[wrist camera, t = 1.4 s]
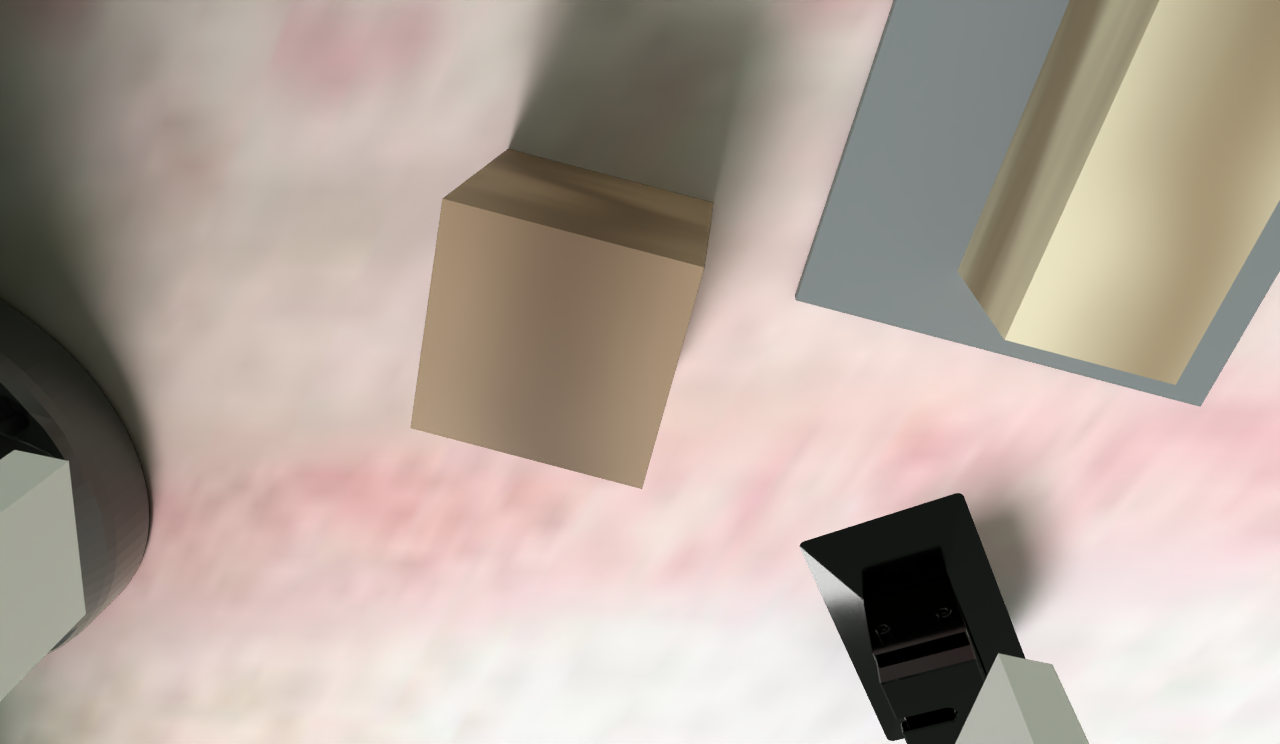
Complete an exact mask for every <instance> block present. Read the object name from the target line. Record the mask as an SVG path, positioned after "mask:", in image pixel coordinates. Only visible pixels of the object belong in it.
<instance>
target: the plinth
mask: <svg viewBox="0 0 1280 744" xmlns="http://www.w3.org/2000/svg"><path fill="white" fill-rule="evenodd" d="M1279 201H1280V0H1070V1H1069V3H1068V6H1067V8H1066V11H1065V13H1064V15H1063V18H1062V20H1061V23H1060V25H1059V27H1058V30H1057V32H1056V35H1055V37H1054V39H1053V42H1052V44H1051V47H1050V49H1049V52H1048V54H1047V56H1046V59H1045V61H1044V64H1043V66H1042V68H1041V71H1040V73H1039V76H1038V78H1037V80H1036V83H1035V85H1034V88H1033V90H1032V92H1031V95H1030V97H1029V100H1028V102H1027V105H1026V107H1025V109H1024V112H1023V114H1022V117H1021V119H1020V121H1019V124H1018V126H1017V129H1016V131H1015V133H1014V136H1013V138H1012V141H1011V143H1010V145H1009V148H1008V150H1007V153H1006V155H1005V158H1004V160H1003V162H1002V165H1001V167H1000V170H999V172H998V174H997V177H996V179H995V182H994V184H993V186H992V189H991V191H990V194H989V196H988V198H987V201H986V203H985V206H984V208H983V211H982V213H981V215H980V218H979V220H978V223H977V225H976V227H975V230H974V232H973V235H972V237H971V239H970V242H969V244H968V247H967V249H966V251H965V254H964V256H963V259H962V261H961V263H960V266H959V268H958V271H957V272H958V273H959V274H960V276H961V277H962V279H963V280H964V282H965V283H966V285H967V286H968V288H969V289H970V290H971V292H972V293H973V295H974V296H975V298H976V299H977V301H978V302H979V303H980V305H981V306H982V308H983V309H984V311H985V312H986V314H987V315H988V317H989V318H990V319H991V321H992V322H993V324H994V325H995V327H996V328H997V330H998V331H999V333H1000V334H1001V335H1002V337H1003V338H1004V340H1007V341H1011V342H1015V343H1018V344H1022V345H1026V346H1030V347H1034V348H1037V349H1041V350H1045V351H1049V352H1053V353H1056V354H1060V355H1064V356H1068V357H1072V358H1075V359H1079V360H1083V361H1087V362H1091V363H1094V364H1098V365H1102V366H1106V367H1109V368H1113V369H1117V370H1121V371H1125V372H1128V373H1132V374H1136V375H1140V376H1144V377H1147V378H1151V379H1155V380H1159V381H1163V382H1166V383H1170V384H1174V385H1176V383H1177V382H1178V380H1179V378H1180V376H1181V375H1182V373H1183V371H1184V369H1185V367H1186V366H1187V364H1188V362H1189V360H1190V359H1191V357H1192V355H1193V353H1194V351H1195V350H1196V348H1197V346H1198V344H1199V343H1200V341H1201V339H1202V337H1203V335H1204V334H1205V332H1206V330H1207V328H1208V327H1209V325H1210V323H1211V321H1212V319H1213V318H1214V316H1215V314H1216V312H1217V311H1218V309H1219V307H1220V305H1221V303H1222V302H1223V300H1224V298H1225V296H1226V295H1227V293H1228V291H1229V289H1230V288H1231V286H1232V284H1233V282H1234V280H1235V279H1236V277H1237V275H1238V273H1239V272H1240V270H1241V268H1242V266H1243V264H1244V263H1245V261H1246V259H1247V257H1248V256H1249V254H1250V252H1251V250H1252V248H1253V247H1254V245H1255V243H1256V241H1257V240H1258V238H1259V236H1260V234H1261V232H1262V231H1263V229H1264V227H1265V225H1266V224H1267V222H1268V220H1269V218H1270V216H1271V215H1272V213H1273V211H1274V209H1275V208H1276V206H1277V204H1278V202H1279Z"/></svg>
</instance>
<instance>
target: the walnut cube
mask: <svg viewBox="0 0 1280 744" xmlns="http://www.w3.org/2000/svg"><path fill="white" fill-rule="evenodd" d="M713 205H714V203H712V202H708V201H704V200H700V199H697V198H693V197H689V196H685V195H681V194H678V193H674V192H670V191H666V190H662V189H659V188H655V187H651V186H647V185H643V184H640V183H636V182H632V181H628V180H624V179H620V178H617V177H613V176H609V175H605V174H601V173H598V172H594V171H590V170H586V169H582V168H579V167H575V166H571V165H567V164H563V163H560V162H556V161H552V160H548V159H544V158H541V157H537V156H533V155H529V154H525V153H522V152H518V151H514V150H510V149H507V150H506V151H505V152H503V153H502V154H501V155H499V156H498V157H497V158H495V159H494V160H493V161H491V162H490V163H489V164H488V165H486V166H485V167H484V168H482V169H481V170H480V171H478V172H477V173H476V174H474V175H473V176H472V177H470V178H469V179H468V180H466V181H465V182H464V183H463V184H461V185H460V186H459V187H457V188H456V189H455V190H453V191H452V192H451V193H449V194H448V195H447V196H445V197H444V198H443V199H442V206H441V214H440V221H439V228H438V235H437V242H436V249H435V256H434V264H433V271H432V278H431V285H430V292H429V299H428V307H427V314H426V321H425V328H424V335H423V342H422V349H421V357H420V364H419V371H418V378H417V385H416V392H415V400H414V407H413V414H412V421H411V428H413V429H416V430H420V431H424V432H428V433H432V434H435V435H439V436H443V437H447V438H451V439H454V440H458V441H462V442H466V443H470V444H473V445H477V446H481V447H485V448H489V449H492V450H496V451H500V452H504V453H508V454H511V455H515V456H519V457H523V458H527V459H530V460H534V461H538V462H542V463H545V464H549V465H553V466H557V467H561V468H564V469H568V470H572V471H576V472H580V473H583V474H587V475H591V476H595V477H599V478H602V479H606V480H610V481H614V482H618V483H621V484H625V485H629V486H633V487H637V488H640V489H642V487H643V484H644V480H645V476H646V473H647V469H648V466H649V462H650V459H651V455H652V452H653V448H654V445H655V441H656V437H657V434H658V430H659V427H660V423H661V420H662V416H663V413H664V409H665V406H666V402H667V398H668V395H669V391H670V388H671V384H672V381H673V377H674V374H675V370H676V367H677V363H678V359H679V356H680V352H681V349H682V345H683V342H684V338H685V335H686V331H687V328H688V324H689V320H690V317H691V313H692V310H693V306H694V303H695V299H696V296H697V292H698V289H699V285H700V281H701V278H702V274H703V271H704V267H705V260H706V253H707V246H708V239H709V232H710V225H711V218H712V211H713Z"/></svg>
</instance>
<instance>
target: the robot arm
mask: <svg viewBox="0 0 1280 744" xmlns="http://www.w3.org/2000/svg"><path fill="white" fill-rule="evenodd" d="M148 529H149V504H148V496H147V489H146V485H145V480H144V476H143V472H142V469H141V466H140V462H139V460H138V457H137V454H136V452H135V449H134V447H133V444H132V442H131V440H130V438H129V436H128V434H127V432H126V430H125V428H124V426H123V424H122V422H121V420H120V419H119V417H118V415H117V414H116V412H115V411H114V409H113V407H112V406H111V404H110V403H109V401H108V400H107V398H106V397H105V396H104V394H103V393H102V391H101V390H100V389H99V387H98V386H97V385H96V384H95V382H94V381H93V380H92V379H91V377H90V376H89V375H88V374H87V373H86V372H85V370H84V369H83V368H82V367H81V366H80V365H79V364H78V363H77V362H76V361H75V360H74V359H73V358H72V357H71V356H70V355H69V353H68V352H67V351H66V350H65V349H63V348H62V347H61V346H60V345H59V344H58V343H57V342H56V341H55V340H54V339H52V338H51V337H50V336H49V335H48V334H47V333H45V332H44V331H43V330H42V329H40V328H39V327H38V326H37V325H35V324H34V323H33V322H31V321H30V320H29V319H27V318H26V317H25V316H23V315H22V314H20V313H19V312H17V311H16V310H14V309H13V308H11V307H10V306H8V305H7V304H5V303H3V302H2V301H0V701H1V700H2V699H3V698H4V697H5V696H6V695H7V694H8V693H9V692H10V691H11V690H12V689H13V688H14V687H15V686H16V685H17V684H18V683H19V682H20V681H21V680H22V679H23V678H24V677H25V676H26V675H27V674H28V673H29V672H30V671H31V670H32V669H33V668H34V666H35V665H36V664H37V663H38V662H39V661H40V660H41V659H42V658H43V657H44V656H45V655H47V654H49V653H51V652H53V651H55V650H56V649H58V648H60V647H61V646H63V645H64V644H66V643H67V642H69V641H70V640H71V639H73V638H74V637H76V636H77V635H78V634H79V633H80V632H82V631H83V630H84V629H85V628H86V627H87V626H88V625H89V624H90V623H91V622H92V621H93V620H94V619H95V618H96V617H97V616H98V615H99V614H100V613H101V612H102V611H103V610H104V609H105V608H106V607H107V606H108V605H109V604H110V603H111V602H112V601H113V600H114V599H115V598H116V597H117V596H118V595H119V594H120V593H121V592H122V591H123V590H124V589H125V588H126V586H127V585H128V584H129V582H130V581H131V580H132V578H133V576H134V575H135V573H136V571H137V569H138V567H139V565H140V563H141V560H142V557H143V554H144V551H145V547H146V543H147V537H148ZM955 744H1089V742H1088V740H1087V738H1086V736H1085V734H1084V731H1083V729H1082V727H1081V725H1080V723H1079V721H1078V719H1077V716H1076V714H1075V712H1074V710H1073V708H1072V706H1071V703H1070V701H1069V699H1068V697H1067V695H1066V693H1065V691H1064V688H1063V686H1062V684H1061V682H1060V680H1059V678H1058V675H1057V673H1056V671H1055V669H1054V667H1053V665H1052V664H1047V663H1042V662H1038V661H1033V660H1028V659H1023V658H1018V657H1013V656H1009V655H1004V654H999V653H998V655H997V657H996V659H995V661H994V663H993V665H992V667H991V669H990V672H989V674H988V676H987V678H986V680H985V682H984V684H983V686H982V688H981V691H980V693H979V695H978V697H977V699H976V701H975V703H974V705H973V707H972V709H971V712H970V714H969V716H968V718H967V720H966V722H965V724H964V726H963V728H962V730H961V733H960V735H959V737H958V739H957V741H956V743H955Z"/></svg>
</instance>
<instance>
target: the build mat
mask: <svg viewBox="0 0 1280 744" xmlns="http://www.w3.org/2000/svg"><path fill="white" fill-rule="evenodd" d="M1069 1H1070V0H894V1H893V4H892V7H891V10H890V13H889V16H888V19H887V22H886V25H885V28H884V31H883V34H882V37H881V40H880V43H879V46H878V49H877V52H876V55H875V58H874V61H873V64H872V67H871V70H870V73H869V76H868V79H867V82H866V85H865V88H864V91H863V94H862V97H861V100H860V103H859V106H858V109H857V112H856V115H855V118H854V121H853V124H852V127H851V130H850V133H849V136H848V139H847V142H846V145H845V148H844V151H843V154H842V157H841V160H840V163H839V166H838V169H837V172H836V175H835V178H834V181H833V184H832V187H831V189H830V192H829V195H828V198H827V201H826V204H825V207H824V210H823V213H822V216H821V219H820V222H819V225H818V228H817V231H816V234H815V237H814V240H813V243H812V246H811V249H810V252H809V255H808V258H807V261H806V264H805V267H804V270H803V273H802V276H801V279H800V282H799V285H798V288H797V291H796V294H795V298H796V300H798V301H801V302H805V303H809V304H813V305H817V306H820V307H824V308H828V309H832V310H836V311H839V312H843V313H847V314H851V315H855V316H858V317H862V318H866V319H870V320H874V321H877V322H881V323H885V324H889V325H893V326H896V327H900V328H904V329H908V330H912V331H915V332H919V333H923V334H927V335H930V336H934V337H938V338H942V339H946V340H949V341H953V342H957V343H961V344H965V345H968V346H972V347H976V348H980V349H984V350H987V351H991V352H995V353H999V354H1003V355H1006V356H1010V357H1014V358H1018V359H1022V360H1025V361H1029V362H1033V363H1037V364H1041V365H1044V366H1048V367H1052V368H1056V369H1060V370H1063V371H1067V372H1071V373H1075V374H1079V375H1082V376H1086V377H1090V378H1094V379H1098V380H1101V381H1105V382H1109V383H1113V384H1117V385H1120V386H1124V387H1128V388H1132V389H1136V390H1139V391H1143V392H1147V393H1151V394H1155V395H1158V396H1162V397H1166V398H1170V399H1174V400H1177V401H1181V402H1185V403H1189V404H1193V405H1196V406H1201V405H1202V403H1203V401H1204V400H1205V398H1206V396H1207V394H1208V393H1209V391H1210V389H1211V388H1212V386H1213V384H1214V382H1215V381H1216V379H1217V377H1218V376H1219V374H1220V372H1221V371H1222V369H1223V367H1224V365H1225V364H1226V362H1227V360H1228V359H1229V357H1230V355H1231V353H1232V352H1233V350H1234V348H1235V347H1236V345H1237V343H1238V341H1239V340H1240V338H1241V336H1242V335H1243V333H1244V331H1245V329H1246V328H1247V326H1248V324H1249V323H1250V321H1251V319H1252V317H1253V316H1254V314H1255V312H1256V311H1257V309H1258V307H1259V305H1260V304H1261V302H1262V300H1263V299H1264V297H1265V295H1266V293H1267V292H1268V290H1269V288H1270V287H1271V285H1272V283H1273V281H1274V280H1275V278H1276V276H1277V275H1278V273H1279V271H1280V201H1279V202H1278V204H1277V206H1276V208H1275V209H1274V211H1273V213H1272V215H1271V216H1270V218H1269V220H1268V222H1267V224H1266V225H1265V227H1264V229H1263V231H1262V232H1261V234H1260V236H1259V238H1258V240H1257V241H1256V243H1255V245H1254V247H1253V248H1252V250H1251V252H1250V254H1249V256H1248V257H1247V259H1246V261H1245V263H1244V264H1243V266H1242V268H1241V270H1240V272H1239V273H1238V275H1237V277H1236V279H1235V280H1234V282H1233V284H1232V286H1231V288H1230V289H1229V291H1228V293H1227V295H1226V296H1225V298H1224V300H1223V302H1222V303H1221V305H1220V307H1219V309H1218V311H1217V312H1216V314H1215V316H1214V318H1213V319H1212V321H1211V323H1210V325H1209V327H1208V328H1207V330H1206V332H1205V334H1204V335H1203V337H1202V339H1201V341H1200V343H1199V344H1198V346H1197V348H1196V350H1195V351H1194V353H1193V355H1192V357H1191V359H1190V360H1189V362H1188V364H1187V366H1186V367H1185V369H1184V371H1183V373H1182V375H1181V376H1180V378H1179V380H1178V382H1177V383H1176V385H1174V384H1170V383H1166V382H1163V381H1159V380H1155V379H1151V378H1147V377H1144V376H1140V375H1136V374H1132V373H1128V372H1125V371H1121V370H1117V369H1113V368H1109V367H1106V366H1102V365H1098V364H1094V363H1091V362H1087V361H1083V360H1079V359H1075V358H1072V357H1068V356H1064V355H1060V354H1056V353H1053V352H1049V351H1045V350H1041V349H1037V348H1034V347H1030V346H1026V345H1022V344H1018V343H1015V342H1011V341H1007V340H1004V338H1003V337H1002V335H1001V334H1000V333H999V331H998V330H997V328H996V327H995V325H994V324H993V322H992V321H991V319H990V318H989V317H988V315H987V314H986V312H985V311H984V309H983V308H982V306H981V305H980V303H979V302H978V301H977V299H976V298H975V296H974V295H973V293H972V292H971V290H970V289H969V288H968V286H967V285H966V283H965V282H964V280H963V279H962V277H961V276H960V274H959V273H958V272H957V271H958V268H959V266H960V263H961V261H962V259H963V256H964V254H965V251H966V249H967V247H968V244H969V242H970V239H971V237H972V235H973V232H974V230H975V227H976V225H977V223H978V220H979V218H980V215H981V213H982V211H983V208H984V206H985V203H986V201H987V198H988V196H989V194H990V191H991V189H992V186H993V184H994V182H995V179H996V177H997V174H998V172H999V170H1000V167H1001V165H1002V162H1003V160H1004V158H1005V155H1006V153H1007V150H1008V148H1009V145H1010V143H1011V141H1012V138H1013V136H1014V133H1015V131H1016V129H1017V126H1018V124H1019V121H1020V119H1021V117H1022V114H1023V112H1024V109H1025V107H1026V105H1027V102H1028V100H1029V97H1030V95H1031V92H1032V90H1033V88H1034V85H1035V83H1036V80H1037V78H1038V76H1039V73H1040V71H1041V68H1042V66H1043V64H1044V61H1045V59H1046V56H1047V54H1048V52H1049V49H1050V47H1051V44H1052V42H1053V39H1054V37H1055V35H1056V32H1057V30H1058V27H1059V25H1060V23H1061V20H1062V18H1063V15H1064V13H1065V11H1066V8H1067V6H1068V3H1069Z"/></svg>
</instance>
